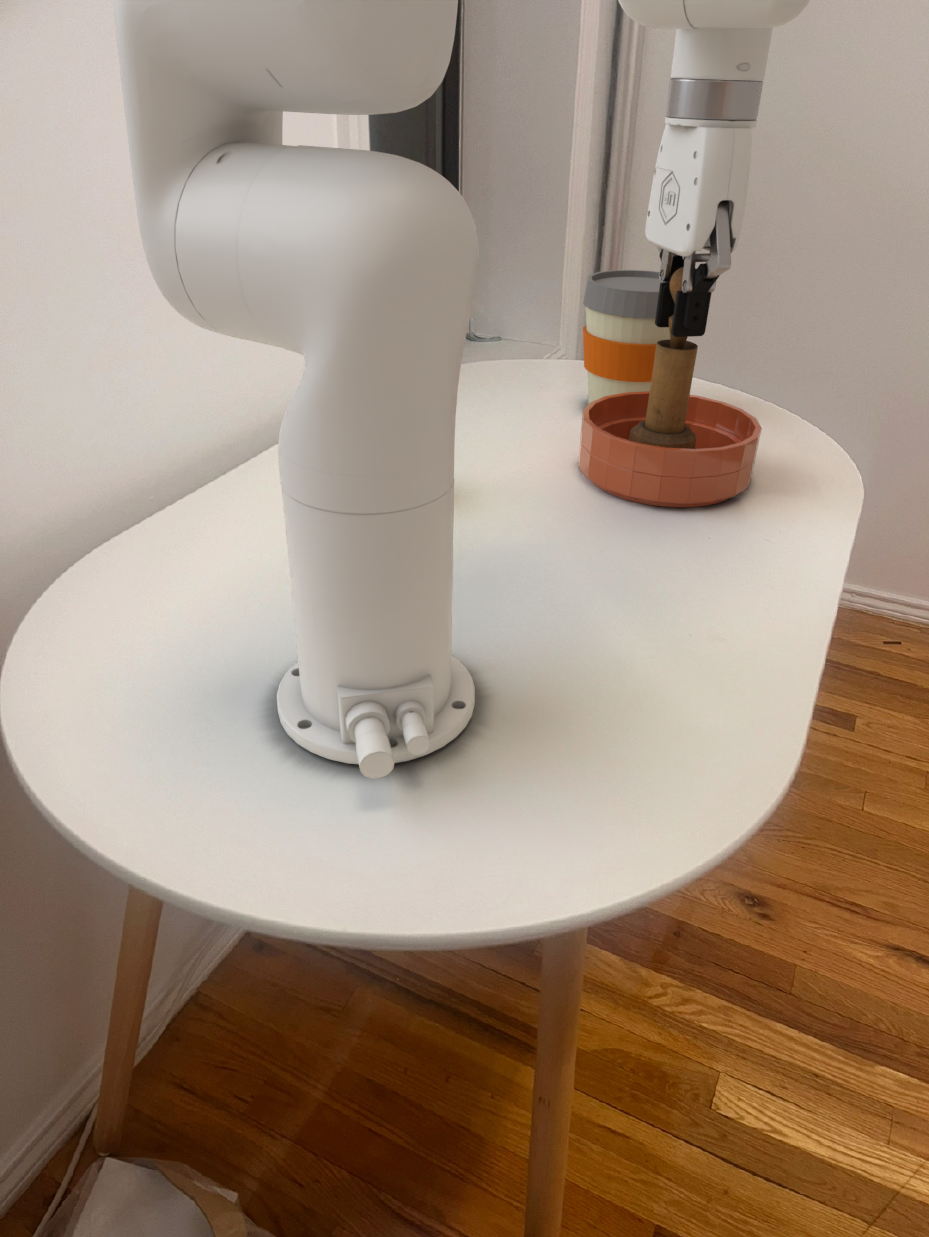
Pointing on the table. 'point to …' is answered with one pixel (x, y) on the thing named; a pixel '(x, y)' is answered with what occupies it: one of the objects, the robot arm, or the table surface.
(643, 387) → the reusable coffee cup
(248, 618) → the table surface
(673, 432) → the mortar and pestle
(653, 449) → the bowl
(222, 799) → the table surface
